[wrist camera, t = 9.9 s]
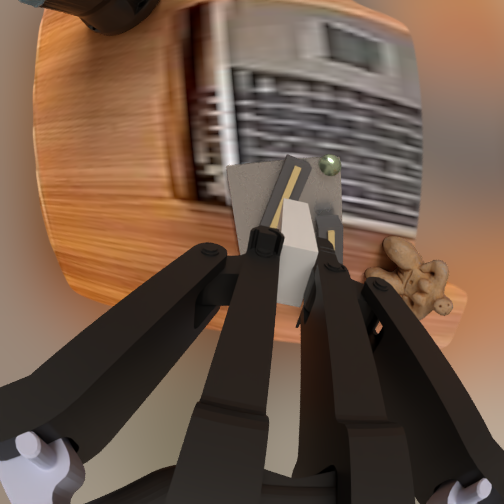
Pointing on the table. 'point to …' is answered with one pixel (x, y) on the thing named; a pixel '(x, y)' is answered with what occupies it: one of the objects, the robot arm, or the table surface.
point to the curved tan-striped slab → (331, 232)
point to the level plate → (262, 184)
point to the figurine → (415, 278)
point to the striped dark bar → (286, 188)
